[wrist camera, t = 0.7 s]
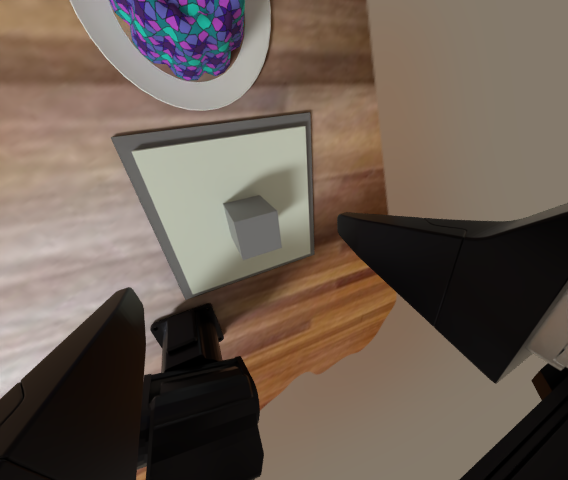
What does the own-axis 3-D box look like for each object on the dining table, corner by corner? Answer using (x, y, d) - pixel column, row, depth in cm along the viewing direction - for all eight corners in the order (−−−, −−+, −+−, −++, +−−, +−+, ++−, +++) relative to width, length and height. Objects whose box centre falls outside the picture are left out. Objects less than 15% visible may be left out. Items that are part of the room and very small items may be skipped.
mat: (312, 252, 29) (314, 254, 28) (185, 297, 24) (185, 299, 24) (308, 112, 20) (310, 112, 20) (111, 137, 16) (110, 137, 15)
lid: (307, 250, 28) (331, 274, 23) (192, 289, 23) (196, 327, 19) (301, 126, 20) (334, 127, 16) (133, 150, 16) (118, 161, 12)
